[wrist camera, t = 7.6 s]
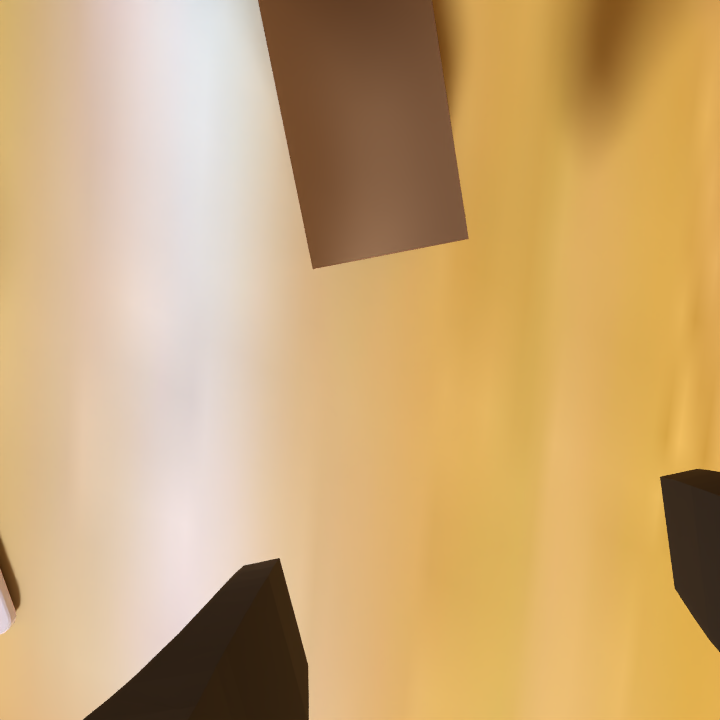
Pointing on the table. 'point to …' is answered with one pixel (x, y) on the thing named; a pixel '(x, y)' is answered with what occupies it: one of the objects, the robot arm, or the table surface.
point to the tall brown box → (365, 125)
